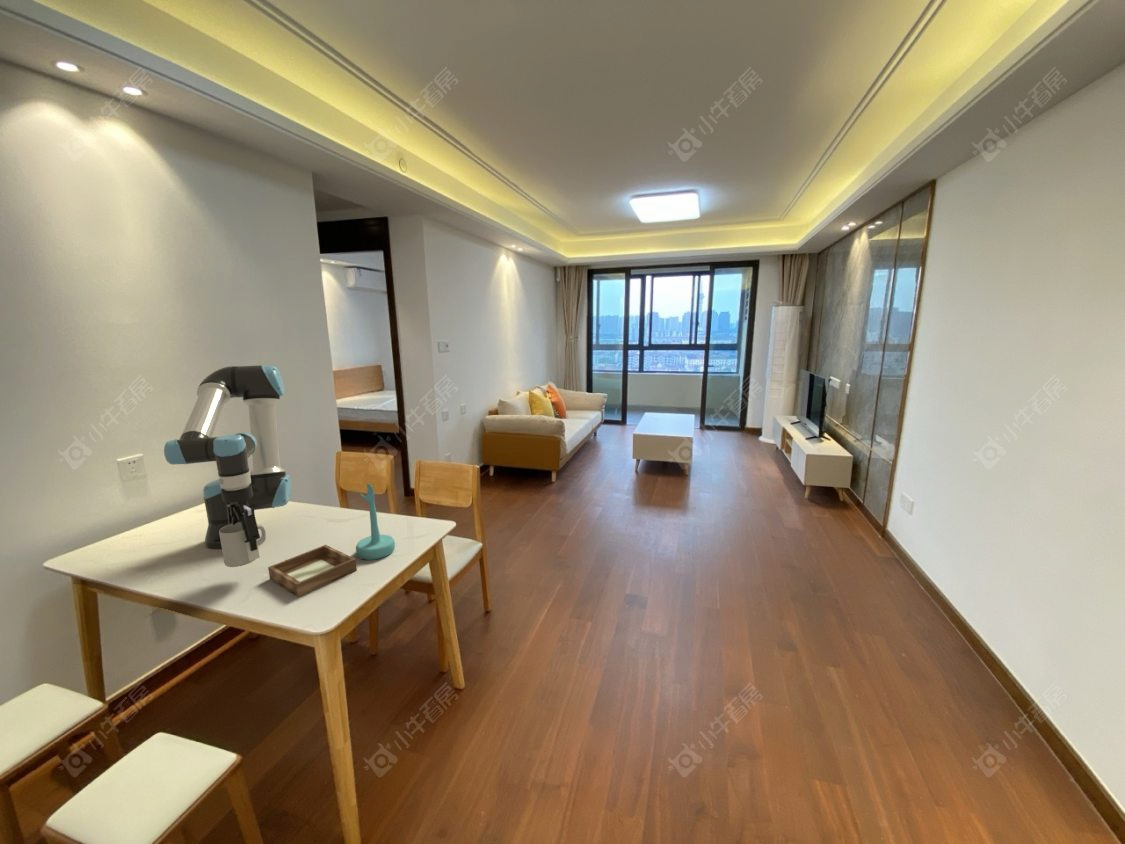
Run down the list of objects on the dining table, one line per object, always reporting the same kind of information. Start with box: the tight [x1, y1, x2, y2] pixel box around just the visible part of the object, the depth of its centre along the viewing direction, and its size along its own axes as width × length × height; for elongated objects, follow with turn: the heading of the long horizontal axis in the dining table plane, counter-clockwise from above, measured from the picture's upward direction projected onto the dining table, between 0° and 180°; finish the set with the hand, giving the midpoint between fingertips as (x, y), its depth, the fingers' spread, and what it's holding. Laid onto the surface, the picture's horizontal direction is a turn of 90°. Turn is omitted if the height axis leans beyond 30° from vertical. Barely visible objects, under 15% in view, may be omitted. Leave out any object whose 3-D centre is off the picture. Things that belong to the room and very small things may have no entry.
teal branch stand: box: [355, 483, 396, 561], centre depth 154 cm, size 12×12×25 cm
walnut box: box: [267, 544, 358, 598], centre depth 141 cm, size 18×18×4 cm
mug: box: [219, 522, 267, 568], centre depth 138 cm, size 12×8×11 cm
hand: (247, 554), depth 139 cm, fingers closed on mug, 8 cm apart
